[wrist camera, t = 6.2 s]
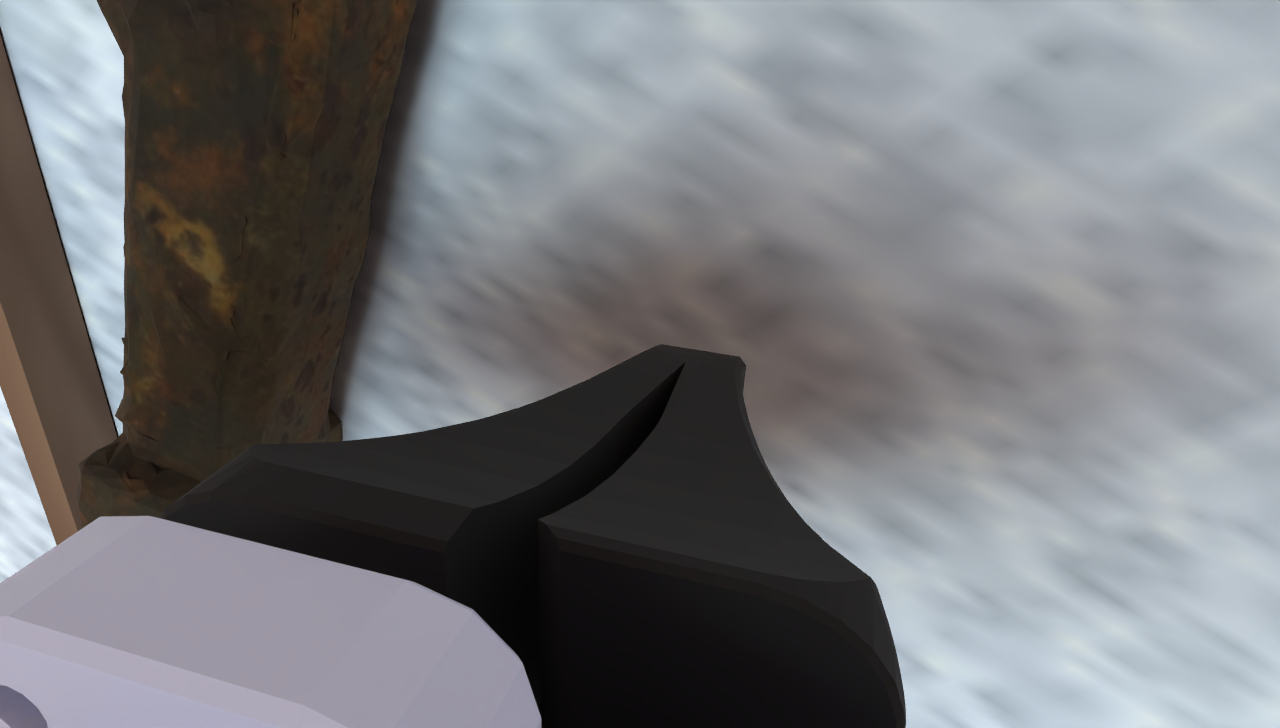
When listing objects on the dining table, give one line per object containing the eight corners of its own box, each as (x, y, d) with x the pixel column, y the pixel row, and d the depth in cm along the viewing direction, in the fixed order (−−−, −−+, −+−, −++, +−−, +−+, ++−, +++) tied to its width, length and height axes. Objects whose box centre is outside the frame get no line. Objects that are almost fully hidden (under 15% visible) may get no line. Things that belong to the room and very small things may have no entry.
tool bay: (395, -800, 8) (305, -944, 7) (491, 807, 20) (464, 864, 19) (-251, -674, 11) (-407, -764, 9) (174, 709, 22) (130, 754, 21)
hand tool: (296, -513, 10) (-104, -849, 6) (575, -390, 10) (351, -655, 6) (181, 518, 19) (-6, 657, 15) (321, 595, 19) (168, 757, 15)
